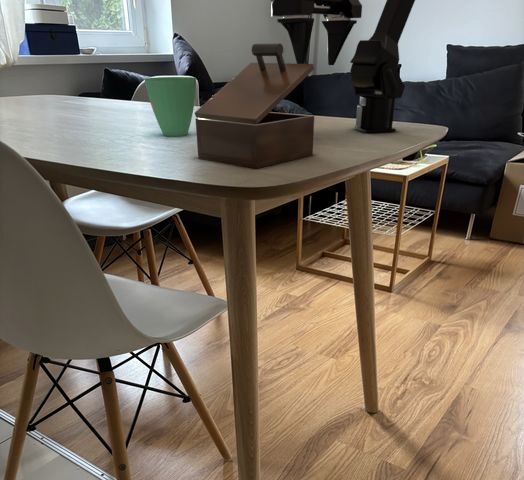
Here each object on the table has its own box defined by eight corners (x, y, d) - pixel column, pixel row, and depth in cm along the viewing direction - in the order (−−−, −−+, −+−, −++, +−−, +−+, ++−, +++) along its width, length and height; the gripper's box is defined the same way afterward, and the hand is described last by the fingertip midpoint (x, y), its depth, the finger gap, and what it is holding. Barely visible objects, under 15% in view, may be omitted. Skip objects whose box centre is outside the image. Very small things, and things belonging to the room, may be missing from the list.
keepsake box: (255, 146, 90) (254, 110, 87) (312, 155, 82) (314, 115, 79) (198, 158, 81) (195, 118, 78) (256, 168, 74) (256, 125, 71)
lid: (252, 67, 83) (242, 37, 80) (314, 69, 76) (307, 36, 72) (196, 117, 78) (183, 88, 75) (256, 124, 71) (246, 92, 67)
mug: (203, 136, 100) (200, 79, 94) (153, 139, 97) (146, 80, 92) (192, 126, 112) (188, 75, 107) (146, 129, 109) (140, 76, 104)
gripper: (315, -34, 94) (311, 63, 102) (245, -45, 82) (247, 67, 90) (367, -40, 87) (359, 64, 95) (300, -53, 75) (297, 68, 83)
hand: (316, 66), depth 91 cm, fingers open, 9 cm apart
